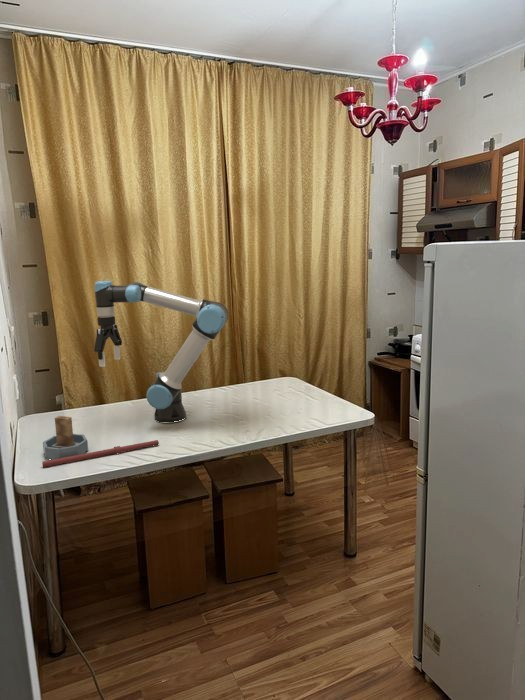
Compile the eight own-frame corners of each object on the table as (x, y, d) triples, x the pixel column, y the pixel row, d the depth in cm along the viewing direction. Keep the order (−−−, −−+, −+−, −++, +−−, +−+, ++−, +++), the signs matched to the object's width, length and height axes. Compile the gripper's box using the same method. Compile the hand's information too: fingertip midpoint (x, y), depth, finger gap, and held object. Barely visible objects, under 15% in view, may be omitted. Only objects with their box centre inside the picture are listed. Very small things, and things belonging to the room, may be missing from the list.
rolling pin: (157, 444, 216) (156, 437, 215) (159, 447, 213) (159, 440, 213) (42, 466, 195) (41, 459, 195) (43, 469, 193) (42, 462, 192)
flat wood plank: (74, 449, 208) (71, 417, 205) (70, 452, 205) (67, 419, 203) (61, 448, 209) (58, 415, 206) (57, 450, 207) (54, 417, 204)
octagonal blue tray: (94, 447, 213) (94, 435, 212) (71, 462, 198) (70, 450, 197) (61, 443, 217) (60, 432, 216) (35, 458, 202) (34, 446, 201)
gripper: (112, 312, 238) (116, 356, 242) (82, 320, 214) (87, 369, 219) (127, 312, 236) (130, 357, 241) (98, 320, 213) (103, 369, 217)
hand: (110, 363), depth 230 cm, fingers open, 13 cm apart
